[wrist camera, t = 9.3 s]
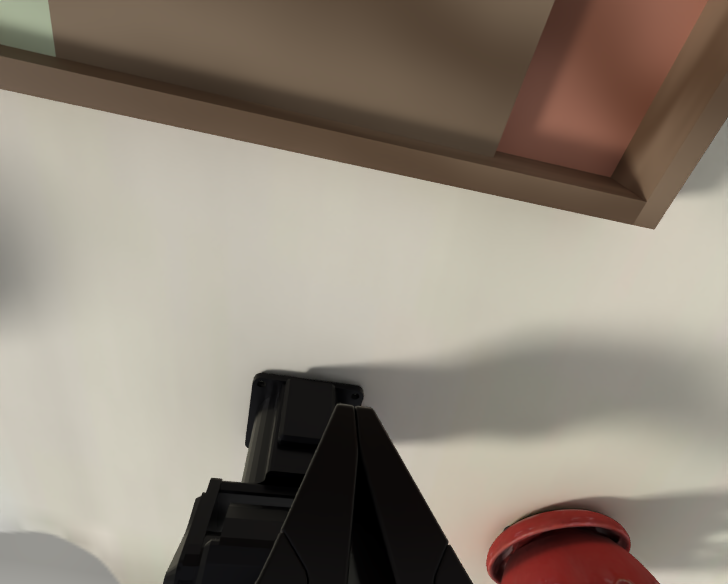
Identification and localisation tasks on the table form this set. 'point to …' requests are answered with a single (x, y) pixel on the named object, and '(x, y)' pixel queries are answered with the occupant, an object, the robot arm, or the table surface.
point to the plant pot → (565, 551)
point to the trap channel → (409, 85)
